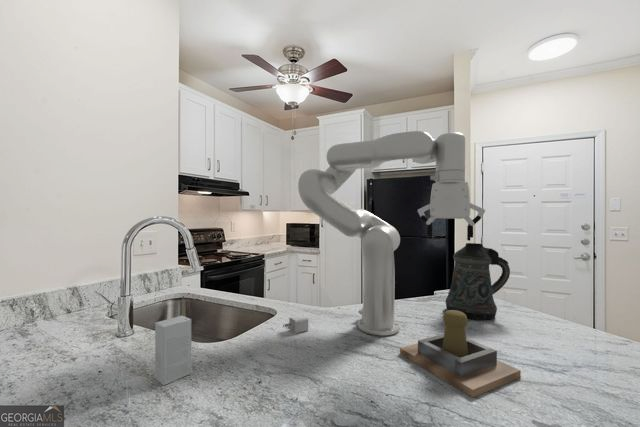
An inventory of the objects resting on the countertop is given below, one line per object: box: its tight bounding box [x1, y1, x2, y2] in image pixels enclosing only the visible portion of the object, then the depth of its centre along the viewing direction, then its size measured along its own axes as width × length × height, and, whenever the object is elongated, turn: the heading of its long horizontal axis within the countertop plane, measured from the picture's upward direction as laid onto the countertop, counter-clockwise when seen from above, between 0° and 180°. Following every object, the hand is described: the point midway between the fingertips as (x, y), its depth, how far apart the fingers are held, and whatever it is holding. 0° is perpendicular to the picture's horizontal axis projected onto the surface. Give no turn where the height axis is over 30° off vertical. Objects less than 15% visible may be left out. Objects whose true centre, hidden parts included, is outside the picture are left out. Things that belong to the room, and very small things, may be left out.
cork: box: [442, 310, 468, 358], centre depth 70 cm, size 6×6×11 cm
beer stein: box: [445, 242, 511, 322], centre depth 107 cm, size 16×19×25 cm
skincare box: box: [154, 315, 192, 386], centre depth 64 cm, size 6×4×12 cm
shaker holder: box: [399, 333, 522, 398], centre depth 70 cm, size 20×16×4 cm
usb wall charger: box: [282, 314, 309, 335], centre depth 89 cm, size 4×7×4 cm, turn 122°
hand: (449, 239), depth 83 cm, fingers open, 9 cm apart
